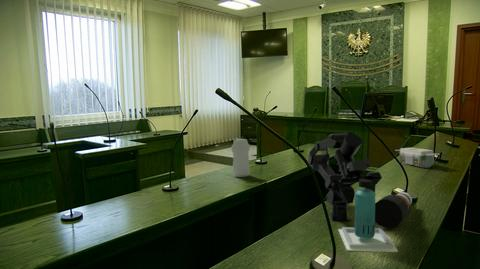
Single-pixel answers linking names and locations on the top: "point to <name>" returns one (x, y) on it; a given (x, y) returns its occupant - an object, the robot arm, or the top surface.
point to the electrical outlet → (417, 157)
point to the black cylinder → (392, 210)
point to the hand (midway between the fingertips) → (361, 202)
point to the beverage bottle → (365, 210)
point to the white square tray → (366, 241)
